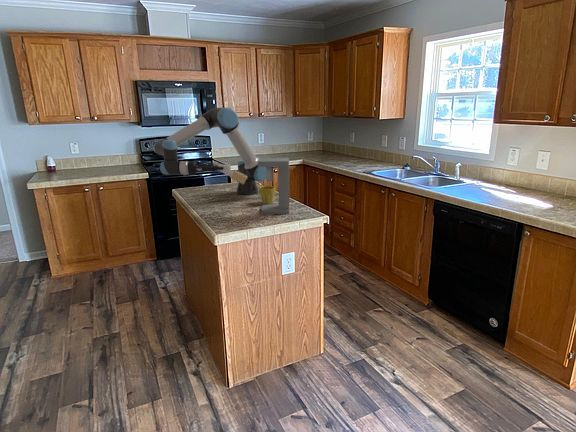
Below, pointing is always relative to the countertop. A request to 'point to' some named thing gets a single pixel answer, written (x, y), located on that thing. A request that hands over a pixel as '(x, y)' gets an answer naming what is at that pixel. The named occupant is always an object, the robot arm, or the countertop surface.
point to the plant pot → (267, 194)
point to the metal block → (234, 174)
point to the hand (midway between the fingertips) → (229, 167)
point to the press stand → (282, 184)
